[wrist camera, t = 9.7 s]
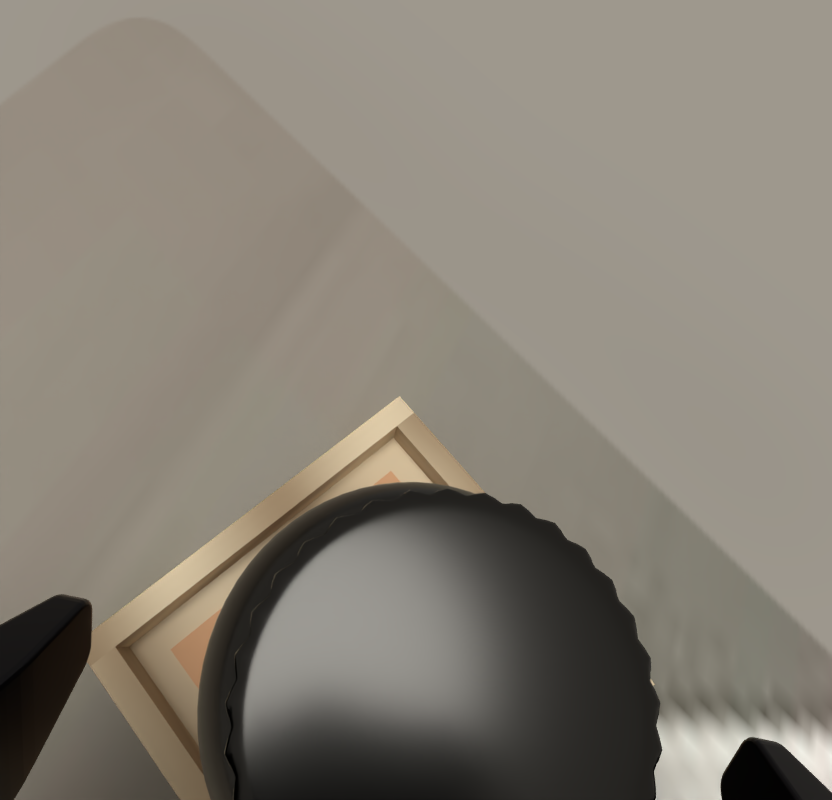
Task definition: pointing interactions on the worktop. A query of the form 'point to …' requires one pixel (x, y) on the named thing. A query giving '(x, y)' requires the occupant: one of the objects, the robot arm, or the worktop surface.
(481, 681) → the supplement bottle
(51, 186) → the worktop surface
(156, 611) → the tray
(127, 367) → the worktop surface
